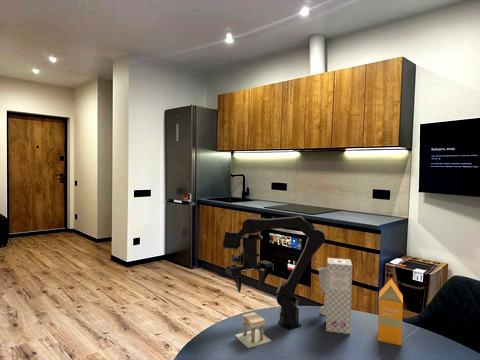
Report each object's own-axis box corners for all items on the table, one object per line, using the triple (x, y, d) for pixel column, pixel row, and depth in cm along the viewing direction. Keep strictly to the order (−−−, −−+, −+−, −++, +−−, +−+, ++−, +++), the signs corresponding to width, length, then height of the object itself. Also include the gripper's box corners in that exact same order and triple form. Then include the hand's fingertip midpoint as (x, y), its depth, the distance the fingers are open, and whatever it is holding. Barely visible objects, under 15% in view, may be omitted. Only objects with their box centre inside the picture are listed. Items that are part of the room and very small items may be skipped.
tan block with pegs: (264, 340, 115) (264, 319, 115) (252, 343, 113) (252, 322, 113) (254, 331, 122) (254, 312, 121) (242, 334, 119) (242, 314, 119)
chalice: (334, 317, 135) (335, 272, 135) (317, 315, 137) (318, 271, 136) (333, 309, 143) (334, 267, 142) (316, 308, 144) (317, 266, 143)
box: (326, 331, 124) (327, 263, 123) (326, 321, 132) (327, 257, 131) (350, 334, 122) (352, 265, 121) (348, 323, 130) (350, 259, 129)
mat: (257, 330, 123) (257, 329, 123) (270, 341, 115) (270, 340, 115) (235, 336, 119) (235, 334, 119) (248, 348, 111) (248, 346, 111)
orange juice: (401, 334, 122) (403, 279, 122) (401, 345, 114) (403, 287, 114) (378, 329, 125) (379, 276, 125) (377, 340, 117) (378, 283, 117)
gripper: (259, 243, 142) (259, 280, 143) (219, 248, 133) (219, 287, 134) (274, 249, 132) (274, 288, 133) (232, 254, 123) (231, 296, 124)
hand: (249, 290), depth 131 cm, fingers open, 9 cm apart
